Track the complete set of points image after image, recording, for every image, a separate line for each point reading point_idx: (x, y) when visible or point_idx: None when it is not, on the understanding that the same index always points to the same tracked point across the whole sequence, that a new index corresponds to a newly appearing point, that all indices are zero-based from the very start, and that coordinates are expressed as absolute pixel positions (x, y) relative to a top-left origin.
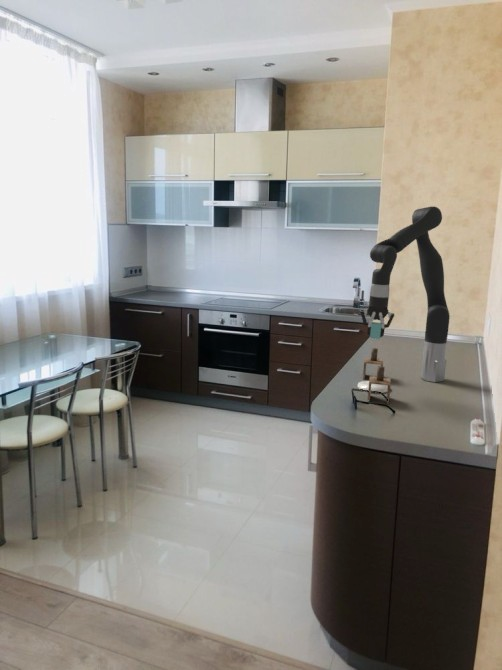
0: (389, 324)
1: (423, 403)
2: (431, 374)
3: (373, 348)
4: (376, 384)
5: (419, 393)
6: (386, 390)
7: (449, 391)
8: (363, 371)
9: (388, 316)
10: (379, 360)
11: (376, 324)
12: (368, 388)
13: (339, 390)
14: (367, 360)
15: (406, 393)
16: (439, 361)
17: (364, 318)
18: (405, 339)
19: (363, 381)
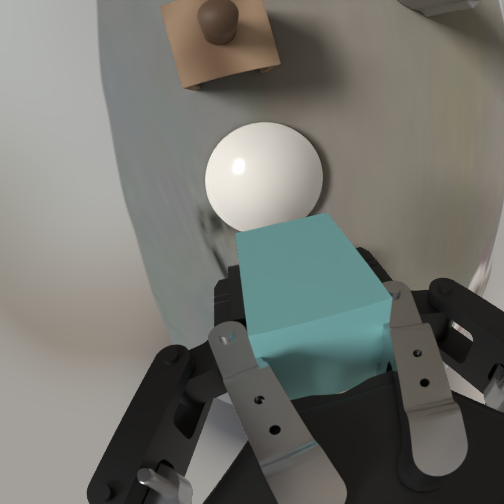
0: (454, 345)
1: (412, 233)
2: (430, 6)
3: (207, 10)
4: (272, 162)
5: (405, 149)
6: (316, 199)
7: (466, 93)
8: (189, 89)
9: (488, 401)
10: (248, 18)
11: (328, 391)
12: (259, 225)
13: (174, 258)
14: (190, 53)
15: (372, 168)
16: (477, 2)
17: (185, 454)
18: None
19: (216, 153)
